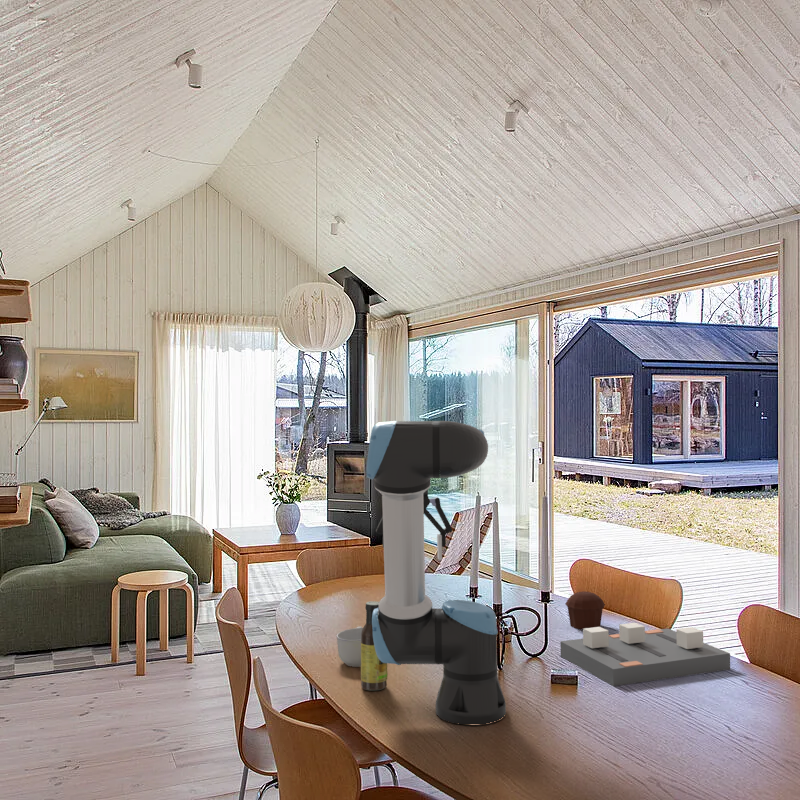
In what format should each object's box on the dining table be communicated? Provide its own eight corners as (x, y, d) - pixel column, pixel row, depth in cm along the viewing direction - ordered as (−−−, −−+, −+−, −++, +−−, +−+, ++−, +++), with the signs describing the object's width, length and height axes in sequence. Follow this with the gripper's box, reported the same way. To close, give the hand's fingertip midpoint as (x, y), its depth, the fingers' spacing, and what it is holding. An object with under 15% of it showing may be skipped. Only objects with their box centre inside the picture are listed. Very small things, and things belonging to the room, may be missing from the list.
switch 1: (608, 646, 202) (608, 630, 202) (591, 648, 200) (591, 632, 200) (599, 642, 206) (599, 626, 206) (583, 644, 204) (583, 628, 204)
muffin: (592, 619, 244) (592, 587, 244) (612, 629, 233) (612, 595, 234) (558, 623, 240) (558, 590, 240) (577, 633, 230) (577, 598, 230)
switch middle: (645, 641, 205) (644, 626, 205) (628, 643, 204) (628, 628, 204) (635, 637, 209) (635, 622, 209) (619, 639, 208) (619, 624, 208)
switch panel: (730, 669, 196) (730, 652, 196) (613, 686, 185) (613, 668, 185) (668, 642, 219) (667, 627, 219) (560, 656, 208) (560, 640, 208)
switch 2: (703, 647, 200) (703, 631, 200) (687, 649, 199) (686, 633, 199) (692, 642, 204) (692, 627, 204) (676, 644, 203) (676, 629, 203)
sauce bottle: (383, 693, 182) (383, 607, 182) (357, 691, 184) (357, 605, 184) (390, 683, 188) (389, 600, 189) (365, 682, 190) (364, 599, 190)
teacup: (373, 671, 198) (372, 639, 198) (331, 669, 200) (331, 637, 200) (385, 654, 211) (385, 624, 211) (346, 652, 213) (346, 622, 214)
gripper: (457, 477, 214) (458, 556, 214) (365, 479, 212) (366, 558, 211) (462, 479, 207) (463, 561, 206) (367, 481, 204) (368, 563, 204)
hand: (414, 560), depth 209 cm, fingers open, 13 cm apart
